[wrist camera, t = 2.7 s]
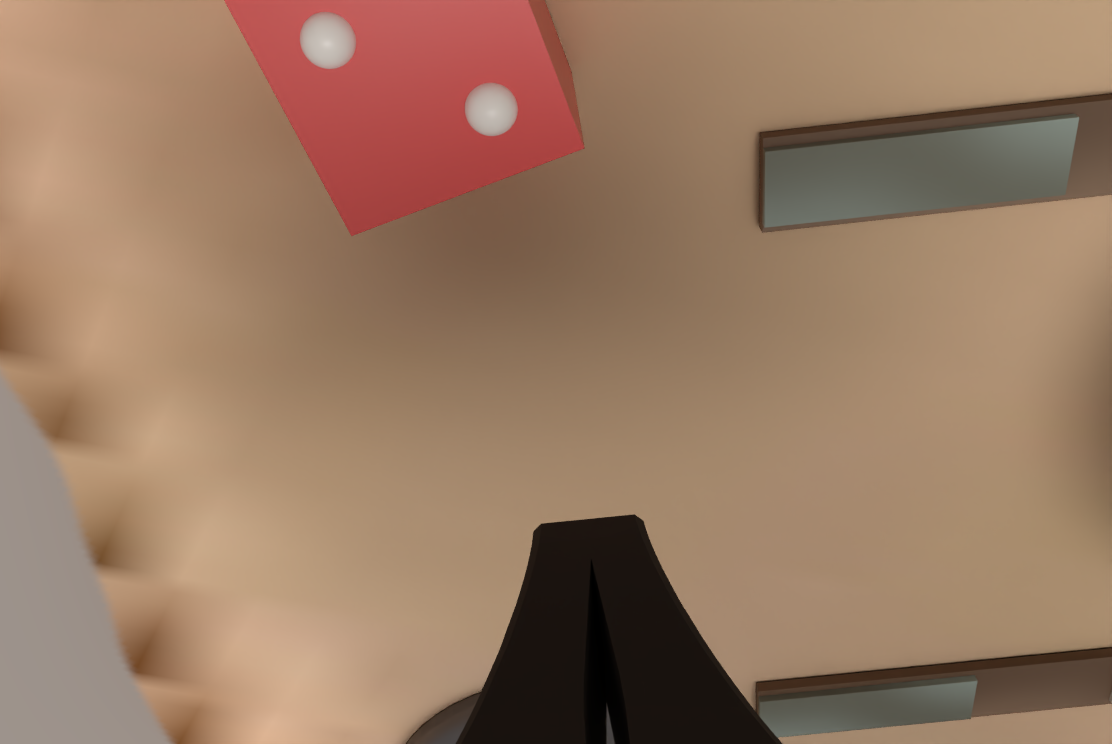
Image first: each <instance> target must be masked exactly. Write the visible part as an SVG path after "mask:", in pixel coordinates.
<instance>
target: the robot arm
mask: <svg viewBox="0 0 1112 744" xmlns="http://www.w3.org/2000/svg"><path fill="white" fill-rule="evenodd" d="M607 707H608V712H609V717H610V723H611V728H612V733H613V738H614V743H615V744H782V743H781V742H780V740H779V739H778V738H777V737H776V736H775V734H774V733H773V732H772V731H771V730H770V728H769V727H768V726H767V725H766V724H765V722H764V721H763V720H762V719H761V718H760V716H759V715H758V714H757V713H756V711H755V710H754V709H753V708H752V706H751V705H750V704H749V703H748V701H747V700H746V699H745V697H744V696H743V695H742V693H741V692H740V691H739V689H738V688H737V687H736V685H735V684H734V683H733V681H732V680H731V678H730V677H729V676H728V674H727V673H726V671H725V670H724V669H723V667H722V666H721V664H720V663H719V662H718V660H717V659H716V657H715V656H714V654H713V653H712V651H711V650H710V648H709V647H708V645H707V644H706V642H705V641H704V639H703V638H702V636H701V635H700V633H699V631H698V630H697V628H696V627H695V625H694V623H693V622H692V620H691V618H690V617H689V615H688V614H687V612H686V610H685V609H684V607H683V605H682V604H681V602H680V600H679V599H678V597H677V595H676V593H675V591H674V590H673V588H672V586H671V584H670V582H669V580H668V578H667V576H666V574H665V573H664V571H663V569H662V567H661V565H660V562H659V560H658V558H657V556H656V554H655V552H654V549H653V547H652V545H651V542H650V539H649V537H648V534H647V531H646V528H645V525H644V521H643V520H641V519H640V518H639V517H637V516H636V515H625V516H615V517H605V518H595V519H585V520H575V521H565V522H554V523H544V524H541V525H540V526H539V527H538V528H537V529H535V530H534V532H533V540H532V547H531V552H530V557H529V561H528V566H527V570H526V573H525V577H524V581H523V584H522V587H521V591H520V594H519V597H518V600H517V604H516V606H515V609H514V612H513V615H512V617H511V620H510V623H509V626H508V628H507V631H506V634H505V637H504V639H503V642H502V645H501V647H500V650H499V652H498V655H497V657H496V660H495V662H494V664H493V666H492V669H491V671H490V673H489V675H488V678H487V680H486V682H485V684H484V687H483V689H482V691H481V693H480V696H479V698H478V700H477V702H476V704H475V707H474V709H473V711H472V713H471V715H470V717H469V719H468V721H467V723H466V725H465V727H464V729H463V730H462V732H461V734H460V736H459V738H458V740H457V742H456V744H607Z"/></svg>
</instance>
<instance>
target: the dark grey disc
mask: <svg viewBox="0 0 1112 744" xmlns="http://www.w3.org/2000/svg"><path fill="white" fill-rule="evenodd" d="M479 696H480V693H479V694H476V695H473V696H471V697H469V698H467V699H464V700H462V701H460V702H458V703H456V704H454V705H452V706H450V707H449V708H447V709H445V710H444V711H442V712H440V713H439V714H437V715H435V716H434V717H433V718H432V719H430V720H429V721H428V722H427V723H425V724H424V725H423V726H422V727H421V728H420V729H419V730H418V731H417V732H416V733H415V734H414V735H413V736H412V737H411V738H410V739H409V741H408V742H407V743H406V744H456V742H457V740H458V738H459V736H460V734H461V732H462V730H463V729H464V727H465V725H466V723H467V721H468V719H469V717H470V715H471V713H472V711H473V709H474V707H475V704H476V702H477V700H478V698H479ZM607 744H615V743H614V738H613V733H612V728H611V723H610V717H609V712H608V707H607Z"/></svg>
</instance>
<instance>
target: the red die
mask: <svg viewBox="0 0 1112 744" xmlns="http://www.w3.org/2000/svg"><path fill="white" fill-rule="evenodd" d="M224 1H225V3H226V4H227V6H228V8H229V10H230V12H231V14H232V16H233V17H234V19H235V21H236V23H237V25H238V27H239V29H240V30H241V32H242V34H243V36H244V38H245V40H246V42H247V43H248V45H249V47H250V49H251V51H252V53H253V54H254V56H255V58H256V60H257V62H258V64H259V66H260V67H261V69H262V71H263V73H264V75H265V77H266V79H267V80H268V82H269V84H270V86H271V88H272V90H273V92H274V93H275V95H276V97H277V99H278V101H279V103H280V104H281V106H282V108H283V110H284V112H285V114H286V116H287V117H288V119H289V121H290V123H291V125H292V127H293V129H294V130H295V132H296V134H297V136H298V138H299V140H300V142H301V143H302V145H303V147H304V149H305V151H306V153H307V154H308V156H309V158H310V160H311V162H312V164H313V166H314V167H315V169H316V171H317V173H318V175H319V177H320V179H321V180H322V182H323V184H324V186H325V188H326V190H327V192H328V193H329V195H330V197H331V199H332V201H333V203H334V204H335V206H336V208H337V210H338V212H339V214H340V216H341V217H342V219H343V221H344V223H345V225H346V227H347V229H348V230H349V232H350V234H351V236H353V235H356V234H358V233H361V232H363V231H366V230H369V229H371V228H374V227H377V226H379V225H382V224H385V223H387V222H390V221H393V220H395V219H398V218H401V217H403V216H406V215H409V214H411V213H414V212H417V211H419V210H422V209H425V208H427V207H430V206H433V205H435V204H438V203H441V202H443V201H446V200H448V199H451V198H454V197H456V196H459V195H462V194H464V193H467V192H470V191H472V190H475V189H478V188H480V187H483V186H486V185H488V184H491V183H494V182H496V181H499V180H502V179H504V178H507V177H510V176H512V175H515V174H518V173H520V172H523V171H526V170H528V169H531V168H533V167H536V166H539V165H541V164H544V163H547V162H549V161H552V160H555V159H557V158H560V157H563V156H565V155H568V154H571V153H573V152H576V151H579V150H581V149H584V142H583V137H582V131H581V125H580V119H579V113H578V107H577V101H576V95H575V90H574V84H573V78H572V72H571V70H570V67H569V64H568V62H567V59H566V56H565V54H564V51H563V48H562V45H561V43H560V40H559V37H558V35H557V32H556V29H555V27H554V24H553V21H552V19H551V16H550V13H549V11H548V8H547V5H546V3H545V0H224Z"/></svg>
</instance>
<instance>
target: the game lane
mask: <svg viewBox="0 0 1112 744" xmlns="http://www.w3.org/2000/svg"><path fill="white" fill-rule="evenodd" d="M1104 195H1112V94H1107V95H1098V96H1088V97H1079V98H1070V99H1061V100H1052V101H1043V102H1034V103H1025V104H1016V105H1007V106H998V107H989V108H980V109H971V110H962V111H953V112H944V113H935V114H926V115H917V116H908V117H899V118H890V119H881V120H872V121H863V122H854V123H845V124H836V125H827V126H818V127H809V128H800V129H791V130H782V131H773V132H763V133H760V205H759V227H760V229H761V231H762V233H763V232H772V231H781V230H790V229H800V228H809V227H818V226H827V225H836V224H846V223H855V222H864V221H873V220H883V219H892V218H901V217H910V216H919V215H929V214H938V213H947V212H956V211H966V210H975V209H984V208H993V207H1002V206H1012V205H1021V204H1030V203H1039V202H1049V201H1058V200H1067V199H1076V198H1085V197H1095V196H1104ZM1103 704H1112V648H1107V649H1097V650H1087V651H1077V652H1067V653H1056V654H1046V655H1036V656H1026V657H1016V658H1005V659H995V660H985V661H975V662H965V663H954V664H944V665H934V666H924V667H914V668H903V669H893V670H883V671H873V672H863V673H852V674H842V675H832V676H822V677H812V678H801V679H791V680H781V681H771V682H761V683H756V713H757V714H758V715H759V716H760V718H761V719H762V720H763V721H764V722H765V724H766V725H767V726H768V727H769V728H770V730H771V731H772V732H773V733H774V734H775V736H776V737H777V738H778V737H788V736H798V735H809V734H819V733H829V732H840V731H850V730H860V729H871V728H881V727H891V726H902V725H912V724H922V723H933V722H943V721H953V720H964V719H971V717H979V716H989V715H999V714H1010V713H1020V712H1030V711H1041V710H1051V709H1061V708H1072V707H1082V706H1092V705H1103Z"/></svg>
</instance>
